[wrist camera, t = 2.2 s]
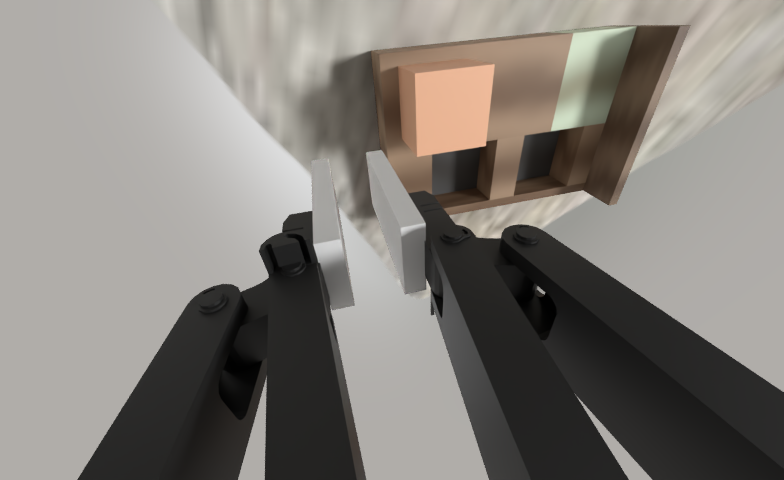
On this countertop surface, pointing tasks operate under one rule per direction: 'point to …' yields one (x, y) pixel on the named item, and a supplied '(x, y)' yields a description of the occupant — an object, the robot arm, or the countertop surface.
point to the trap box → (538, 114)
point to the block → (445, 105)
